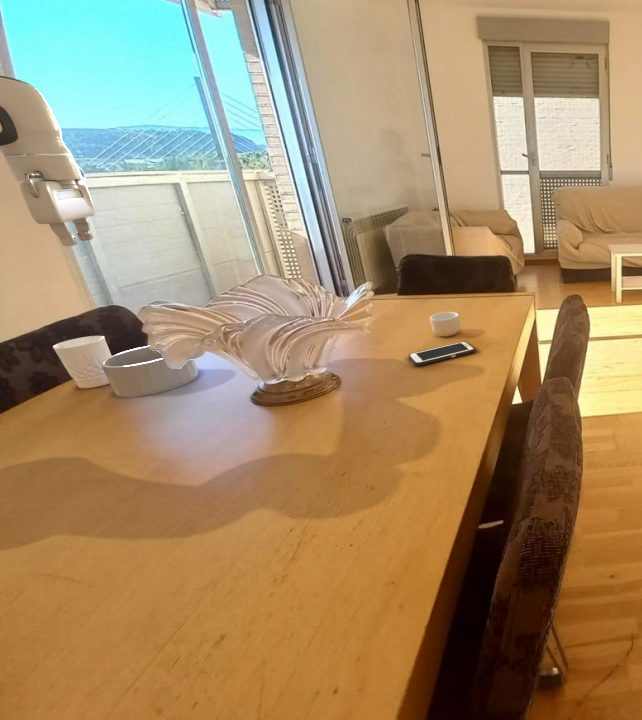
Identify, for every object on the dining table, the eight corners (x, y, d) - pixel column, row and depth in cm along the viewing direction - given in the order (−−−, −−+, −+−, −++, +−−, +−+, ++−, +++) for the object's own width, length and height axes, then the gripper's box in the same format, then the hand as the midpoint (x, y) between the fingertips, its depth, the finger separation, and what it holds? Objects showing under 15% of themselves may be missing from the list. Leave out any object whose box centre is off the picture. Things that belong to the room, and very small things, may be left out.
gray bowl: (105, 403, 99) (90, 372, 96) (125, 379, 110) (111, 351, 107) (193, 386, 106) (181, 357, 103) (202, 365, 117) (192, 338, 114)
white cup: (127, 379, 110) (108, 339, 106) (79, 393, 104) (57, 350, 100) (117, 372, 114) (98, 333, 110) (70, 385, 108) (48, 344, 104)
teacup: (465, 334, 133) (462, 316, 130) (437, 340, 129) (433, 322, 126) (454, 326, 140) (451, 308, 138) (427, 331, 136) (424, 313, 134)
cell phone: (408, 357, 117) (407, 354, 117) (465, 343, 125) (465, 340, 125) (416, 367, 112) (415, 363, 111) (476, 352, 120) (476, 348, 119)
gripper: (47, 170, 86) (83, 247, 92) (86, 170, 102) (114, 235, 108) (-4, 172, 83) (36, 251, 89) (44, 171, 99) (75, 238, 105)
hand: (79, 242), depth 98 cm, fingers open, 8 cm apart
